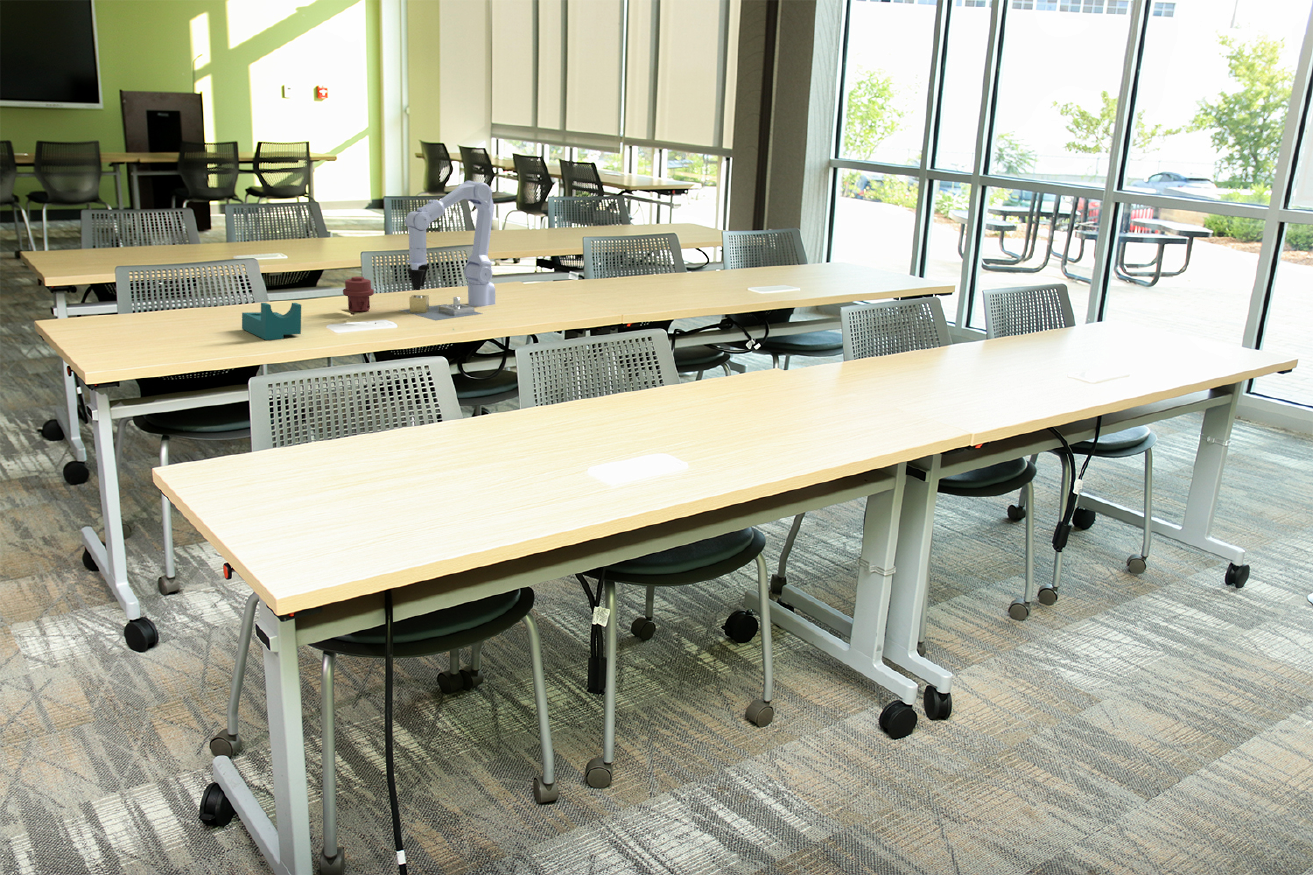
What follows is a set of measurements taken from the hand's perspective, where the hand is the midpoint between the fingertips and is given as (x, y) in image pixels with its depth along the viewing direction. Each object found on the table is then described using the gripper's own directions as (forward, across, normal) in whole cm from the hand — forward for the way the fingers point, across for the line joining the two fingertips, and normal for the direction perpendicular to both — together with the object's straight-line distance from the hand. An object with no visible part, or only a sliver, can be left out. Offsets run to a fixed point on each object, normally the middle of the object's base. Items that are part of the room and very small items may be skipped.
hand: (418, 288), depth 346 cm
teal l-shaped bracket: (+10, +38, -39) cm, 55 cm away
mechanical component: (+9, +3, -20) cm, 22 cm away
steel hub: (+8, 0, +13) cm, 15 cm away
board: (+9, 0, +8) cm, 12 cm away
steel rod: (+8, 0, 0) cm, 8 cm away
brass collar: (+8, 0, 0) cm, 8 cm away
